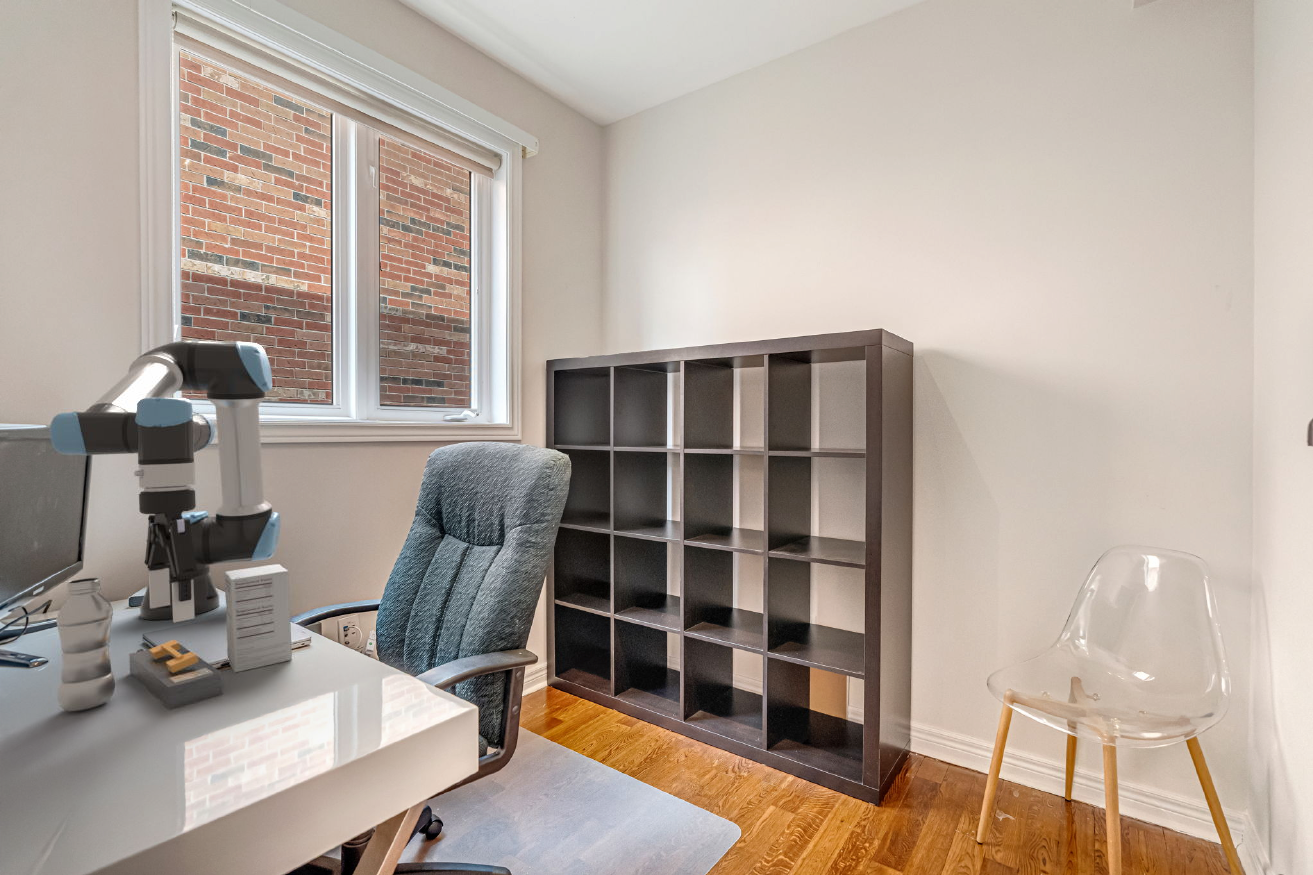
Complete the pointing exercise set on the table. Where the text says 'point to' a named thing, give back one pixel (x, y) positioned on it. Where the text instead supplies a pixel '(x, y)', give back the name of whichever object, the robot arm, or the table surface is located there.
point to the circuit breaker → (175, 679)
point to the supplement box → (258, 617)
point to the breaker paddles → (179, 660)
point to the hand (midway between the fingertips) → (171, 613)
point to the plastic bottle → (85, 647)
